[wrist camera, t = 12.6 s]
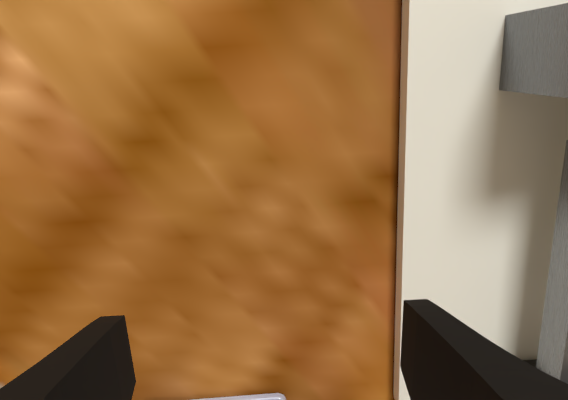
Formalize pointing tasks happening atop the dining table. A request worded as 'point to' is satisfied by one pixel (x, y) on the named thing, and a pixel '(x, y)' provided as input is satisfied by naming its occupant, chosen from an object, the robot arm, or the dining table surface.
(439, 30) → the board
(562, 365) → the upright post with base
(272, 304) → the dining table surface
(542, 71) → the eye block
